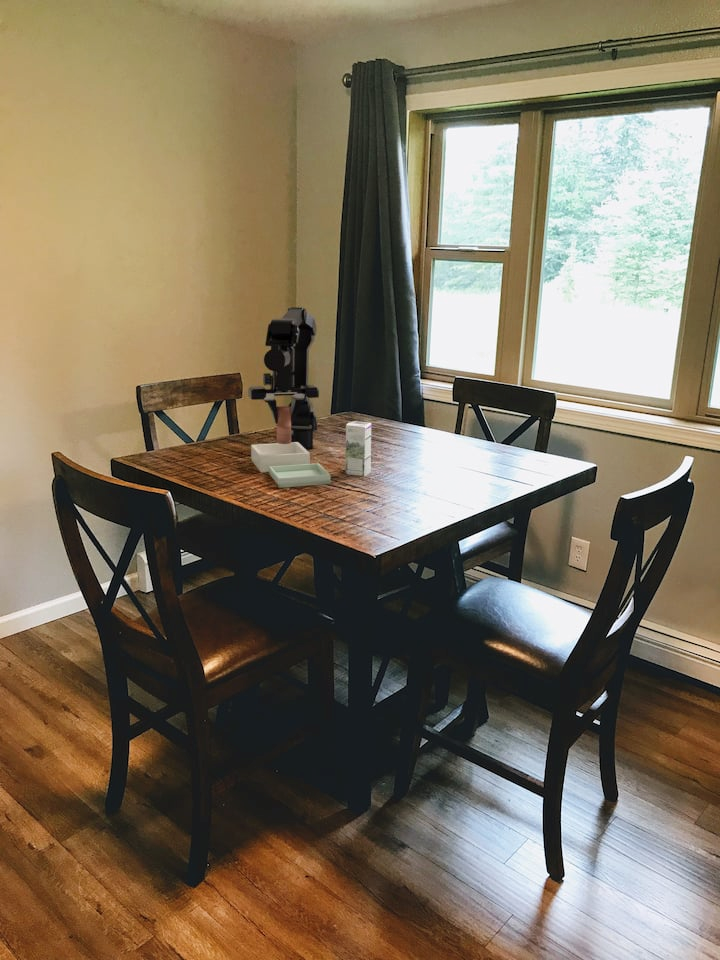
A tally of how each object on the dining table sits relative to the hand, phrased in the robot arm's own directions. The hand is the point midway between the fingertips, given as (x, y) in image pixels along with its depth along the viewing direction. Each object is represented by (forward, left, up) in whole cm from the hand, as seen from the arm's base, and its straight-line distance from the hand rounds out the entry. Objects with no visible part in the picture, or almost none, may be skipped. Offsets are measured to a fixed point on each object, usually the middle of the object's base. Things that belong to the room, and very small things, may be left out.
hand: (283, 423), depth 211 cm
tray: (-2, +11, -13) cm, 17 cm away
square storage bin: (0, -4, -13) cm, 14 cm away
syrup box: (-19, +10, -14) cm, 25 cm away
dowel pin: (0, 0, -6) cm, 6 cm away
